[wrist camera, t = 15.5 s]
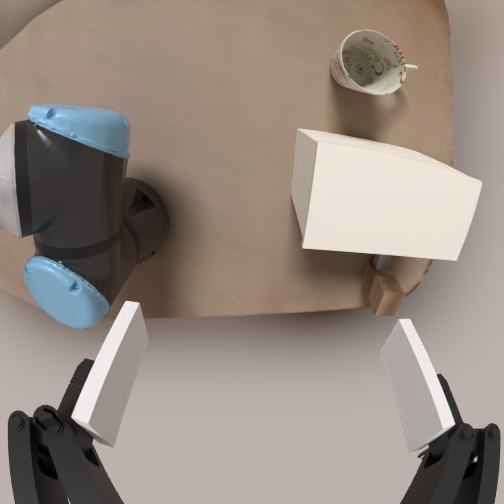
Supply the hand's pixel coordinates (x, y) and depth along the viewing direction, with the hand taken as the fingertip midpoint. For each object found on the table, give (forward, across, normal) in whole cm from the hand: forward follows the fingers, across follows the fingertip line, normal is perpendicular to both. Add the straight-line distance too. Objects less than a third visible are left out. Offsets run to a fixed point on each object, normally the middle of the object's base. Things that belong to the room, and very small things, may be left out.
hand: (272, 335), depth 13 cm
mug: (+31, +13, +18) cm, 38 cm away
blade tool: (+31, +22, -11) cm, 40 cm away
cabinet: (+31, +14, +2) cm, 34 cm away
